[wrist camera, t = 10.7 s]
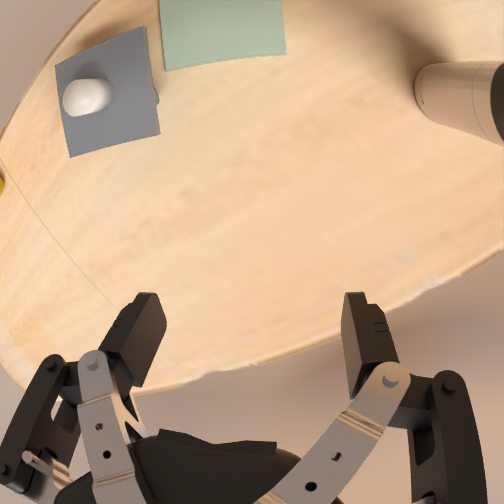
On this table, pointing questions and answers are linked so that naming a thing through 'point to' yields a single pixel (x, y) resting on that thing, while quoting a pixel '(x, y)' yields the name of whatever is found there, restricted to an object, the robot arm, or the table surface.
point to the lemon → (1, 186)
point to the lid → (108, 94)
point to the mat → (220, 30)
